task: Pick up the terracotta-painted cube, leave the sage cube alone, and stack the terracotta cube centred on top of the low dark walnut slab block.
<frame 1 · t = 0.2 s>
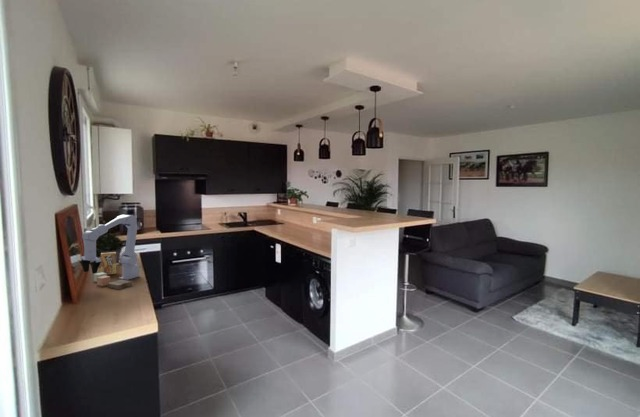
hand: (90, 272, 185), 10 cm above the countertop, tool pointing down, fingers open, 7 cm apart
sage cube: (100, 281, 200), on the countertop
candy box: (108, 274, 216), on the countertop
terracotta cube: (103, 284, 193), on the countertop
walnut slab: (119, 286, 191), on the countertop
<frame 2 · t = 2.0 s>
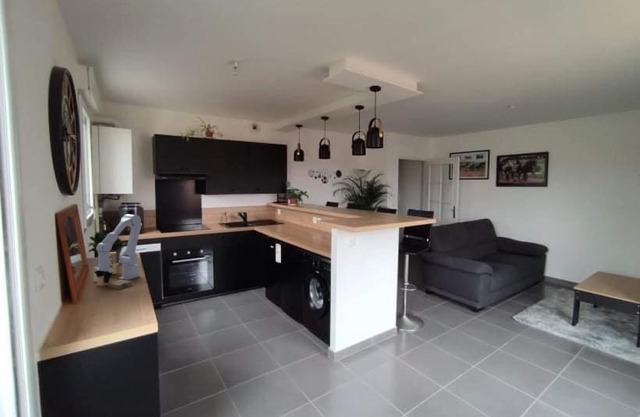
hand: (103, 282, 193), 1 cm above the countertop, tool pointing down, fingers closed on terracotta cube, 5 cm apart
terracotta cube: (103, 284, 193), on the countertop, touching gripper
everything else where it was.
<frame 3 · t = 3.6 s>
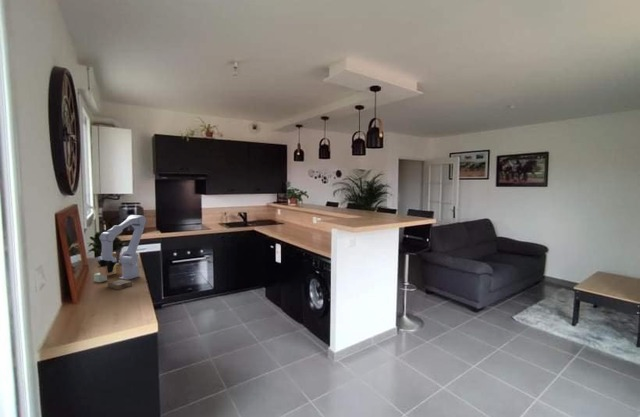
hand: (107, 271, 192), 8 cm above the countertop, tool pointing down, fingers closed on terracotta cube, 5 cm apart
terracotta cube: (106, 274, 192), point 7 cm above the countertop, touching gripper
everything else where it was.
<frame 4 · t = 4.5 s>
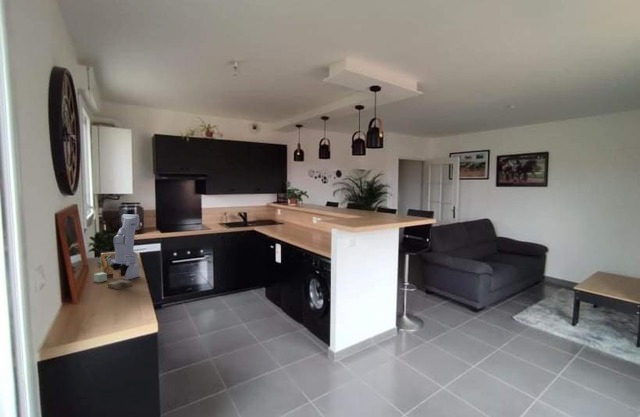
hand: (120, 275, 191), 7 cm above the countertop, tool pointing down, fingers closed on terracotta cube, 5 cm apart
terracotta cube: (119, 277, 191), point 5 cm above the countertop, touching gripper
everything else where it was.
when the fingers open (6 cm above the countertop, at t = 5.2 s): terracotta cube drops 2 cm, resting on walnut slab.
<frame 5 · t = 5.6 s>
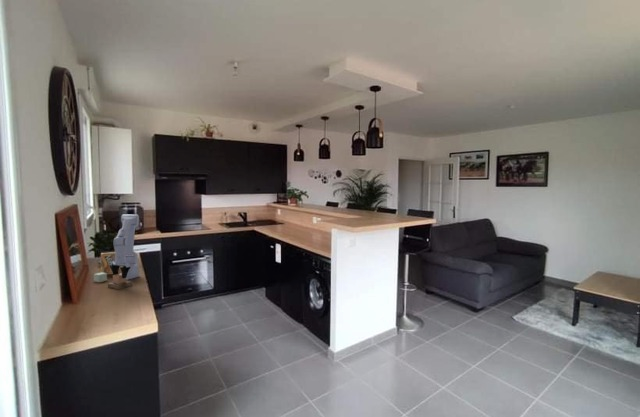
hand: (120, 277, 191), 6 cm above the countertop, tool pointing down, fingers open, 7 cm apart
terracotta cube: (119, 282, 191), point 2 cm above the countertop, touching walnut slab
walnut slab: (119, 287, 191), on the countertop, touching terracotta cube
everything else where it was.
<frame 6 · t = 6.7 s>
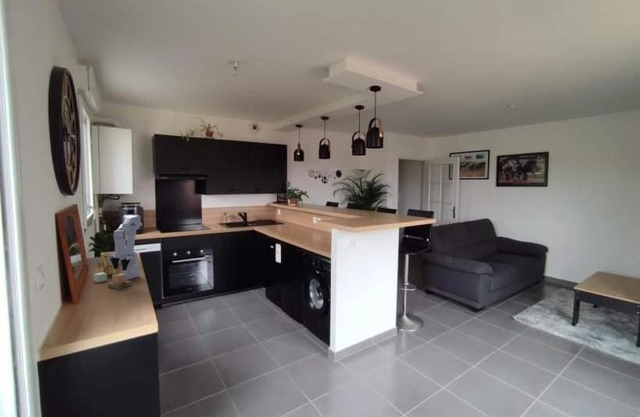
hand: (120, 269, 192), 10 cm above the countertop, tool pointing down, fingers open, 7 cm apart
nothing on the countertop moved.
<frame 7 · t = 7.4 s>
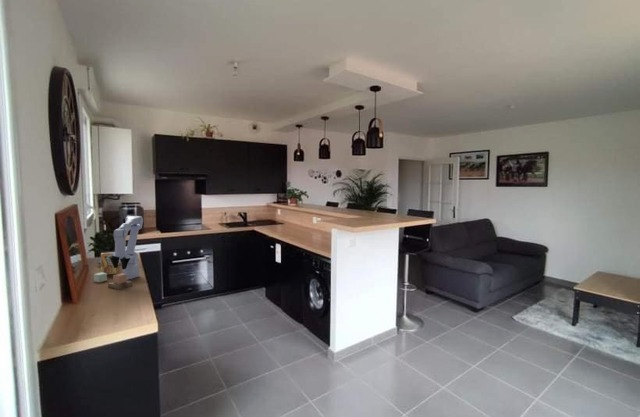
hand: (119, 268, 194), 10 cm above the countertop, tool pointing down, fingers open, 7 cm apart
terracotta cube: (119, 282, 191), point 2 cm above the countertop
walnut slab: (120, 287, 191), on the countertop
everything else where it was.
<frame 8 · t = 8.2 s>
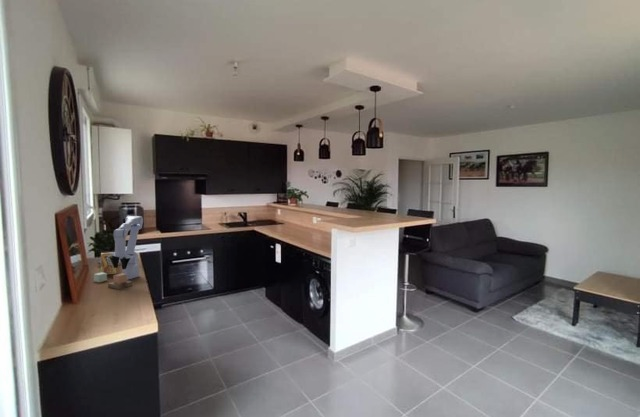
hand: (119, 268, 194), 10 cm above the countertop, tool pointing down, fingers open, 7 cm apart
terracotta cube: (120, 282, 191), point 2 cm above the countertop, touching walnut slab
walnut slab: (120, 287, 191), on the countertop, touching terracotta cube
everything else where it was.
at the end: terracotta cube 0.1 cm off-centre on the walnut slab, point 3.0 cm above the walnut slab's base; terracotta cube tilted 0°; the gripper is holding nothing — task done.
